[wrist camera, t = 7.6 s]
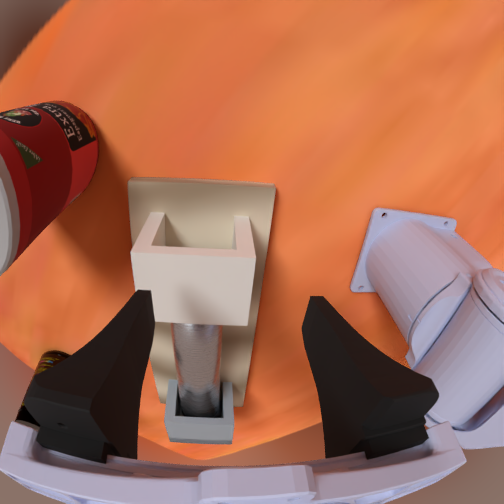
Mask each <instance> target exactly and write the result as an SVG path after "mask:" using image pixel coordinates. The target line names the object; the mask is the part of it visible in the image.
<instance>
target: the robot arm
mask: <svg viewBox="0 0 504 504" xmlns="http://www.w3.org/2000/svg"><path fill="white" fill-rule="evenodd" d="M383 213H385V215H384V216H383V217H382V214H383ZM444 223H445V224H444ZM456 224H457V222H456V220H455V219H453V218H447V217H441V216H435V215H428V214H422V213H415V212H408V211H401V210H394V209H386V208H375V209H374V210H373V212H372V215H371V218H370V222H369V225H368V229H367V233H366V236H365V239H364V243H363V246H362V250H361V253H360V256H359V259H358V263H357V266H356V269H355V272H354V275H353V278H352V281H351V284H350V289H351V291H352V292H377V293H378V295H379V297H380V298H381V300H382V301H383V303H384V305H385V306H386V308H387V310H388V311H389V313H390V315H391V316H392V318H393V320H394V322H395V323H396V325H397V327H398V328H399V330H400V332H401V334H402V335H403V337H404V339H405V341H406V342H407V344H408V346H409V351H408V353H407V354H406V356H405V358H406V360H407V362H408V364H409V366H410V368H411V369H409V368H407V367H405V366H403V365H401V364H400V363H398V362H396V361H394V360H393V359H391V358H390V357H388V356H387V355H385V354H384V353H382V352H381V351H380V350H378V349H377V348H376V347H374V346H373V345H372V344H370V343H369V342H368V341H367V340H366V339H364V338H363V337H362V336H361V335H360V334H359V333H358V332H357V331H356V330H355V329H354V328H353V327H352V326H351V325H350V324H349V323H348V322H347V321H346V320H345V319H344V318H343V317H342V316H341V315H340V314H339V313H338V312H337V311H336V310H335V309H334V308H333V306H332V305H331V304H330V303H329V302H328V301H327V300H326V299H325V298H324V297H323V296H310V300H309V304H308V307H307V311H306V314H305V318H304V321H303V325H302V334H303V340H304V346H305V350H306V353H307V357H308V360H309V363H310V367H311V370H312V373H313V376H314V380H315V383H316V387H317V391H318V396H319V402H320V408H321V415H322V422H323V431H324V440H325V455H326V456H325V457H326V459H320V460H313V461H305V462H297V463H287V464H275V465H259V466H197V465H196V466H195V465H180V464H167V463H158V462H150V461H142V460H137V438H138V420H139V408H140V398H141V390H142V384H143V380H144V376H145V372H146V368H147V364H148V360H149V356H150V352H151V348H152V344H153V338H154V330H155V317H154V310H153V302H152V294H151V290H139V289H138V290H137V291H136V292H135V293H134V295H133V296H132V297H131V298H130V299H129V301H128V302H127V303H126V304H125V306H124V307H123V308H122V309H121V310H120V311H119V312H118V314H117V315H116V316H115V317H114V318H113V319H112V320H111V321H110V322H109V323H108V325H107V326H106V327H105V328H104V329H103V330H102V331H101V332H100V333H99V334H97V335H96V336H95V337H94V338H93V339H92V340H91V341H90V342H88V343H87V344H86V345H85V346H84V347H82V348H81V349H79V350H78V351H77V352H75V353H74V354H73V355H71V356H70V357H68V358H66V359H65V360H63V361H62V362H60V363H58V364H56V365H55V366H53V367H51V368H49V369H47V370H45V371H43V372H40V373H38V374H36V375H34V377H33V379H32V381H31V383H30V386H29V389H28V391H27V394H26V396H25V399H24V405H25V407H26V409H27V410H28V412H29V413H30V414H31V415H32V416H33V418H34V419H35V420H36V421H37V422H38V423H39V425H40V429H39V432H38V431H37V430H35V429H33V428H31V427H29V426H26V425H23V424H20V423H17V422H15V421H12V422H11V424H10V427H9V430H8V433H7V436H6V439H5V443H4V446H3V449H2V452H1V456H0V470H1V471H2V472H3V473H5V474H6V475H8V476H9V477H11V478H12V479H14V480H15V481H17V482H18V483H20V484H21V485H23V486H24V487H26V488H28V489H30V490H33V491H35V492H38V493H40V494H43V495H45V496H48V497H50V498H53V499H56V500H58V501H61V502H64V503H67V504H383V503H386V502H389V501H392V500H394V499H397V498H400V497H402V496H405V495H407V494H410V493H412V492H415V491H417V490H419V489H422V488H424V487H426V486H429V485H431V484H433V483H436V482H437V481H439V480H441V479H442V478H444V477H445V476H447V475H448V474H450V473H451V472H453V471H454V470H456V469H457V468H459V467H460V466H461V465H463V464H464V463H466V458H465V456H464V453H463V451H462V449H461V447H462V448H464V449H481V448H491V447H500V446H504V272H503V271H501V270H499V269H496V268H493V267H492V266H491V264H490V263H489V262H488V261H487V260H486V259H485V258H484V257H483V256H482V255H481V254H480V253H479V252H477V251H476V250H475V249H474V248H473V247H472V246H471V245H470V244H469V243H467V242H466V241H465V240H464V239H463V238H462V237H461V236H459V235H458V234H457V233H456V232H455V231H454V230H455V227H456ZM360 286H361V287H360ZM359 287H360V288H359ZM424 425H426V426H427V427H429V428H428V429H427V430H425V427H424Z"/></svg>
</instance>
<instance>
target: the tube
mask: <svg viewBox="0 0 504 504" xmlns="http://www.w3.org/2000/svg"><path fill="white" fill-rule="evenodd" d="M222 330H223V325H207V324H187V323H171V333H172V342H173V351H174V359H175V367H176V374H177V381H178V388H179V395H180V401H181V410H182V415H183V417H201V418H218V415H219V392H220V370H221V349H222Z"/></svg>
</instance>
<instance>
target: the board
mask: <svg viewBox="0 0 504 504" xmlns="http://www.w3.org/2000/svg"><path fill="white" fill-rule="evenodd" d="M275 192H276V187H275V185H274V184H273V183H261V182H247V181H232V180H214V179H192V178H156V177H131V178H130V180H129V181H128V200H129V215H130V227H131V238H132V248H133V246H134V244H135V242H136V240H137V238H138V236H139V234H140V232H141V230H142V228H143V226H144V224H145V222H146V220H147V219H148V217H149V215H150V213H151V212H162V213H165V236H166V246H168V247H190V248H211V249H232V238H233V226H234V216H248V217H249V220H250V226H251V232H252V237H253V243H254V249H255V255H256V263H255V271H254V279H253V286H252V294H251V302H250V310H249V317H248V325H247V326H237V325H223V330H222V349H221V370H220V392H219V400H222V385H223V382H232V392H233V407H243V403H244V397H245V391H246V385H247V379H248V372H249V366H250V360H251V354H252V347H253V341H254V334H255V328H256V322H257V315H258V309H259V302H260V295H261V289H262V282H263V275H264V269H265V262H266V255H267V248H268V241H269V234H270V227H271V220H272V213H273V206H274V199H275ZM150 361H151V365H152V370H153V374H154V379H155V383H156V387H157V391H158V395H159V399H160V403H164V404H166V399H167V390H168V382H169V379H173V380H177V374H176V367H175V359H174V351H173V342H172V333H171V323H170V322H155V330H154V338H153V344H152V348H151V352H150Z"/></svg>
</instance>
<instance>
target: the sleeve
mask: <svg viewBox="0 0 504 504" xmlns="http://www.w3.org/2000/svg"><path fill="white" fill-rule="evenodd" d="M130 253H131V261H132V269H133V277H134V284H135V291H137V290H138V289H139V290H151V294H152V302H153V310H154V317H155V322H170V323H187V324H207V325H237V326H247V325H248V317H249V310H250V302H251V294H252V286H253V279H254V271H255V263H256V255H255V249H254V243H253V237H252V232H251V226H250V220H249V217H248V216H234V226H233V238H232V249H211V248H190V247H168V246H166V236H165V213H162V212H151V213H150V215H149V217H148V219H147V220H146V222H145V224H144V226H143V228H142V230H141V232H140V234H139V236H138V238H137V240H136V242H135V244H134V246H133V248H132V250H131V252H130Z"/></svg>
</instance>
